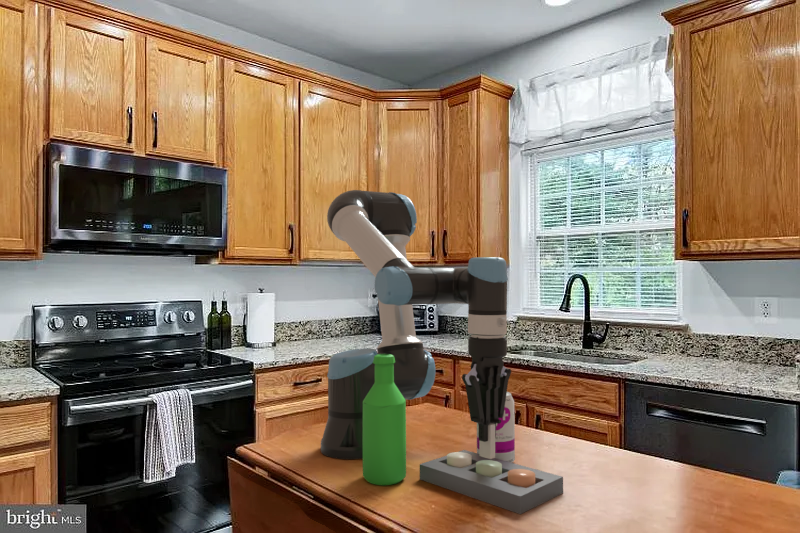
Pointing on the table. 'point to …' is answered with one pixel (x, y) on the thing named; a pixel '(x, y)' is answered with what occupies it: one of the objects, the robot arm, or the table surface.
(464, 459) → the ivory button
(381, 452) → the bottle
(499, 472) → the sage button
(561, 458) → the table surface
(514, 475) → the peach button
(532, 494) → the console
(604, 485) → the table surface
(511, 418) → the supplement can
